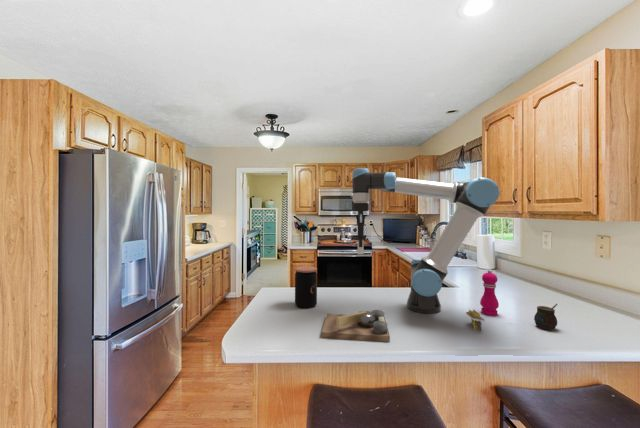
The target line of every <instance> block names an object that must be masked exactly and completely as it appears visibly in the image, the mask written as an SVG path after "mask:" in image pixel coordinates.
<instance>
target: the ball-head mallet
mask: <svg viewBox="0 0 640 428" xmlns="http://www.w3.org/2000/svg"><path fill="white" fill-rule="evenodd" d="M374 322H375V313H373V312H372V311H371V310H360V311H357V312H354V313H353V312H352V313H349V314H343V316H338V317H337V326H339V327H340V326H345V325H349V324H353V323H357V325H359V326H361V327H373V323H374Z"/></svg>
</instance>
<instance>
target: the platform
mask: <svg viewBox="0 0 640 428" xmlns="http://www.w3.org/2000/svg"><path fill="white" fill-rule="evenodd" d="M465 314H466V315H467V316H468V317H469V318H470V320H471V324H472V326H473V328H474V330H479V331H480V332H482V322H483V323H484V322H486V319H484V318H483V317H482V316H481V314H480V313H479V312H478V311H477V310H475V309H474V308H473V309H472V310H471V309H469V310H468V311H467V312H465Z"/></svg>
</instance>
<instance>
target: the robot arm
mask: <svg viewBox="0 0 640 428" xmlns="http://www.w3.org/2000/svg"><path fill="white" fill-rule="evenodd" d="M351 182H352V183H351V185H352V188H351V189H352V194H351V195H350V197H351V198H352V202H353V203H352V204H351V205H352V211H353V212H357V215H355V218H356V225H357V238H356V239H355V240H356V241H357V255H364V250H365V248H364V246H365V245H364V240H366V239H365V237H364V233H365V232H364V231H365V230H364V229H365V227H364V226H365V224H366V223H365V222H366V221H365V219H366V215H365V214H364V212H369V210H370V204H369V202H370V190H379V191H380V192H384V193H387V192H388V193H396V194H403V195H404V194H405V195H410V196H417V197H423V198H425V197H426V198H433V199H440V200H446V201H447V200H449V201H450V202H451V203H452V204H456V209H455V211H454V212H453V214H452V216H451V217H450V219H449V221H448V222H447V224H446V226H445V228H443V230H442V232H441V234H440V235H439V237H438V238H437V240H436V241H435V244H434V245H433V247H432V249H431V250H430V252H429V254H428V255H427V256H425V257H422V258H421V259H411V262H410V292H409V295H408V298H407V300H406V308H407V309H409V310H410V311H413V312H416V313H421V314H437V313H440V312H441V311H442V310H441V309H442V307H441V305H442V304H441V302H440V298H439V295H438V293H439V292H440V291H441V289H442V286H443V281H444V280H445V278H447V275H448V274H449V272H448V269H447V267H448V266H449V264H450V263H451V261H452V260H453V259H454V257H455V255H456V253H457V252H458V250H459V249H460V246H462V244H463V242H464V241H465V239H466V238H467V237H468V235H469V232H470V231H471V229H472V228H473V227H474V225H475V223H476V221H477V220H478V219H479V218H481V217H482V218H483V217H484V216H485V215H486V213H487V212H488V210H489V209H490V207H491V206H493V205H494V204H495V203H496V202H497V200H498V199H499V196H500V187H499V185H498V184H497V183H496V182H495V180H492V179H491V178H488V177H475V178H474V179H472V180H470V181H462V182H460V181H455V182H453V183H448V182H441V181H433V180H432V181H431V180H425V179H424V180H423V179H415V178H408V177H407V178H406V177H398V176H397V173H396V172H394V171H392V172H391V171H390V172H389V171H383V172H370V170H369V168H367V167H366V168H365V167H358V168H357V167H356V168H354V169H353V171H352V179H351Z"/></svg>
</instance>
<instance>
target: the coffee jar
mask: <svg viewBox="0 0 640 428" xmlns="http://www.w3.org/2000/svg"><path fill="white" fill-rule="evenodd" d="M317 270H318V268H317V267H315V266H309V265H308V266H307V265H306V266H305V265H304V266H298V267H295V269H294V271H295V273H294V304H295V306H296V307H297V308H298V309H305V310H307V309H313V308H315V307H316V305H317V304H318V302H317V301H318V273H317Z"/></svg>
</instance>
